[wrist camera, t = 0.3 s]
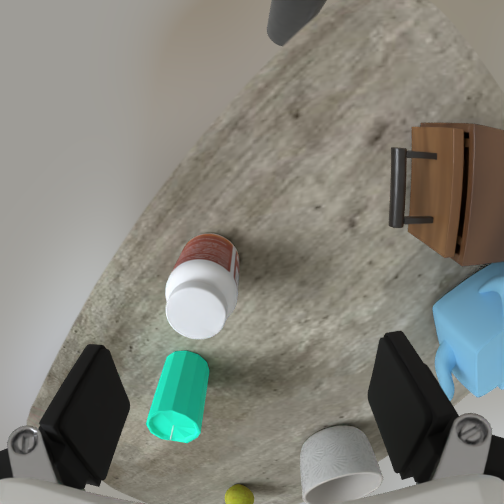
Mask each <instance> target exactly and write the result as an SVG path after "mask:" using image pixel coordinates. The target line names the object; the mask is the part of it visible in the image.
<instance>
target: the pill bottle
mask: <svg viewBox="0 0 504 504" xmlns="http://www.w3.org/2000/svg"><path fill="white" fill-rule="evenodd" d="M238 282H239V255H238V252H237V250H236V248H235V246H234V245H233V244H232V243H231V242H230V241H229V240H228V239H226V238H225V237H223V236H220V235H218V234H213V233H205V234H200V235H198V236H195V237H194V238H192V239H191V240H190V241H189V242H188V243H187V244H186V246H185V247H184V249H183V251H182V253H181V255H180V257H179V259H178V260H177V262H176V264H175V266H174V268H173V270H172V272H171V274H170V276H169V279H168V281H167V284H166V300H167V305H166V316H167V319H168V321H169V323H170V325H171V326H172V327H173V329H174V330H176V331H177V332H178V333H180V334H181V335H183V336H185V337H188V338H192V339H206V338H210V337H212V336H214V335H216V334H217V333H218V332H220V331H221V329H222V328H223V326H224V324H225V322H226V319H227V318H228V317H229V316H230V315H231V314H232V312H233V311H234V309H235V306H236V304H237V298H238Z"/></svg>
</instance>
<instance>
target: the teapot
mask: <svg viewBox="0 0 504 504" xmlns="http://www.w3.org/2000/svg"><path fill="white" fill-rule="evenodd" d="M433 316H434V321H435V326H436V331H437V336H438V340H439V344H440V346H439V348H438V350H437V353H436V357H435V369H436V373H437V377H438V380H439V383H440V386H441V388H442V389H443V391H444V392H445V394H446V396H447V397H448V399H449V400H450V401H451V399H452V398H453V395H454V383H453V380H452V376H451V372H452V373H453V375H454V376H455V377H456V378H457V379H458V380H459V381H460V382H461V383H462V384H463V385H464V386H465V387H466V388H467V389H468V390H469V391H470V392H471V393H473V394H474V395H475V396H476V397H481V396H483V395H485V394H487V393H488V392H490V391H491V390H493V389H494V388H496V387H497V386H498V387H499V388H500V389H504V262H497V263H491V264H490V265H488V266H486V267H485V268H483V269H481V270H480V271H478V272H477V273H475V274H473V275H472V276H470V277H469V278H467V279H466V280H465V281H463V282H462V283H461V284H459V285H458V286H457V287H455V288H454V289H453V290H451V291H450V292H448V293H447V294H445V295H444V296H443V297H442V298H441V299H440V300H438V301H437V302H436V303H435V304H434V306H433Z"/></svg>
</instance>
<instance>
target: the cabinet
mask: <svg viewBox="0 0 504 504" xmlns="http://www.w3.org/2000/svg"><path fill="white" fill-rule="evenodd" d="M421 127H444V128H457V129H463V130H464V138H467V139H469V170H468V188H467V200H466V210H465V219H464V227H463V235H462V242H461V246H460V245H459V244H457V243H456V247H455V254H454V257H450V258H452V259H453V260H454V261H456V262H457V263H458V264H460V265H461V266H470V265H479V264H488V263H497V262H504V130H501V129H496V128H492V127H487V126H483V125H478V124H468V123H421Z"/></svg>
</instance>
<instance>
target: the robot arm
mask: <svg viewBox="0 0 504 504" xmlns="http://www.w3.org/2000/svg"><path fill="white" fill-rule="evenodd" d="M368 401H369V404H370V407H371V409H372V412H373V414H374V417H375V420H376V422H377V425H378V428H379V430H380V433H381V436H382V438H383V441H384V444H385V447H386V449H387V452H388V455H389V457H390V460H391V463H392V466H393V469H394V471H395V472H396V473H400V476H401V479H402V480H403V479H406V478H410V477H414V480H415V482H417V483H416V485H413V486H409V487H406V488H402V489H399V490H395V491H391V492H387V493H383V494H378V495H374V496H369V497H364V498H360V499H355V500H349V501H344V502H338V503H332V504H504V438H501V437H498V436H495V435H492V428H491V426H490V423H489V422H488V421H487V420H486V419H485V418H484V417H482V416H480V415H478V414H473V413H467V414H463V415H461V416H458V414H457V412H456V410H455V409H454V407H453V405H452V404H451V402H450V400H449V399H448V397H447V396H446V394H445V392H444V391H443V389H442V388H441V386H440V384H439V383H438V381H437V380H436V378H435V377H434V375H433V373H432V372H431V370H430V369H429V367H428V366H427V365H426V364H424V363H423V361H422V360H421V358H420V357H419V355H418V354H417V352H416V351H415V349H414V348H413V346H412V345H411V343H410V342H409V340H408V339H407V337H406V336H405V335H404V333H403V332H402V331H396V332H389V333H385V335H384V337H383V338H380V340H379V345H378V350H377V354H376V359H375V364H374V368H373V373H372V377H371V381H370V386H369V390H368ZM129 410H130V402H129V399H128V397H127V394H126V392H125V390H124V387H123V385H122V382H121V380H120V377H119V375H118V372H117V369H116V367H115V364H114V361H113V359H112V356H111V353H110V351H109V350H108V349H106V348H105V346H104V345H95V344H89V345H87V346H86V348H85V349H84V351H83V352H82V354H81V355H80V357H79V358H78V360H77V361H76V363H75V365H74V366H73V368H72V369H71V371H70V372H69V374H68V376H67V377H66V379H65V380H64V382H63V384H62V385H61V387H60V388H59V390H58V392H57V393H56V395H55V397H54V398H53V400H52V402H51V403H50V405H49V407H48V408H47V410H46V412H45V414H44V415H43V417H42V419H41V421H40V422H39V424H40V427H39V429H37V428H36V427H33V426H27V425H26V426H22V427H19V428H17V429H16V430H15V431H13V432H12V433H11V435H10V436H9V439H8V442H7V447H8V448H7V449H5V450H2V451H0V504H145V503H138V502H133V501H127V500H122V499H117V498H112V497H108V496H103V495H99V494H94V493H91V492H86V491H85V489H84V488H85V485H86V484H90V485H94V486H98V487H99V486H100V483H101V480H105V478H106V476H107V473H108V470H109V467H110V464H111V461H112V458H113V455H114V452H115V449H116V446H117V444H118V441H119V438H120V435H121V432H122V429H123V427H124V424H125V421H126V418H127V416H128V413H129Z"/></svg>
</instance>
